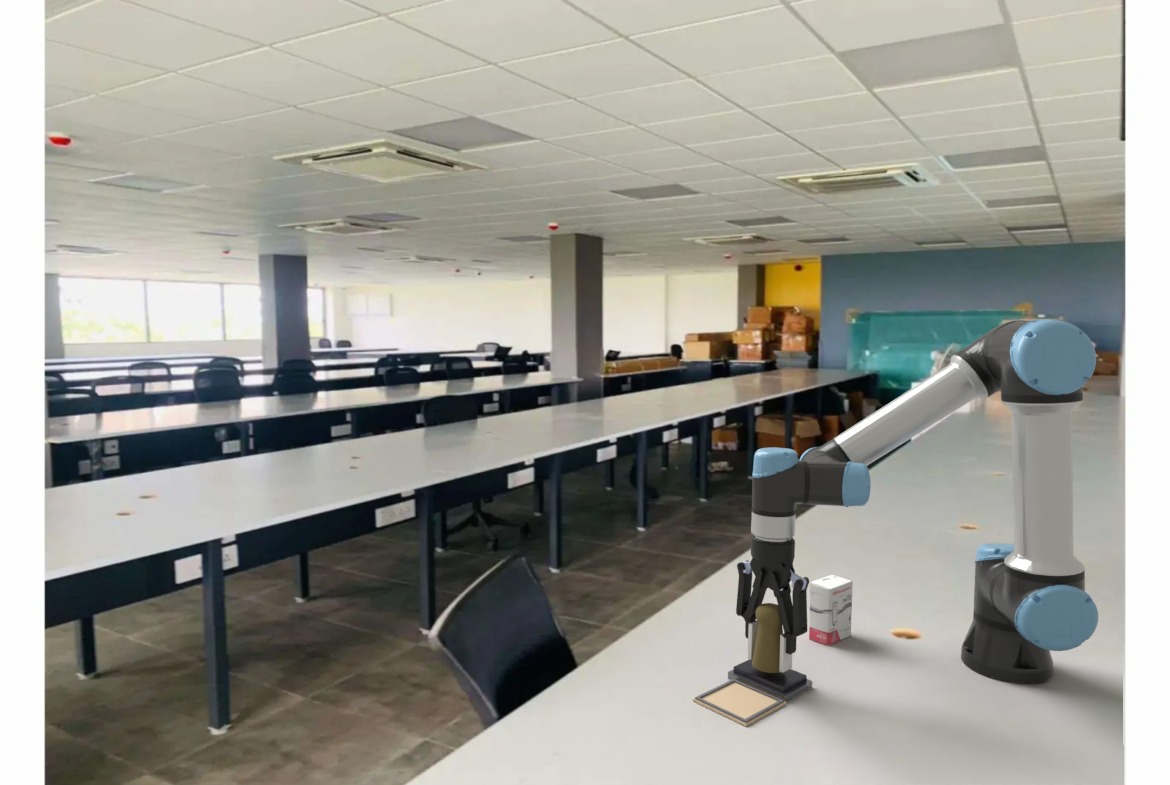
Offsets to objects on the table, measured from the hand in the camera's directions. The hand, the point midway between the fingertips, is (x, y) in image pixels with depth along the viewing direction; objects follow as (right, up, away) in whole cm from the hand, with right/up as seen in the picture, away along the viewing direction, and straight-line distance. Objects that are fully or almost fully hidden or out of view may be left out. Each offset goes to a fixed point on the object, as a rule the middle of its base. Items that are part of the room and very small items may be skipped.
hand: (769, 663), depth 136 cm
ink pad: (0, -4, 0) cm, 4 cm away
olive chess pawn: (0, -1, 0) cm, 1 cm away
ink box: (+17, -2, +21) cm, 27 cm away
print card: (-7, -4, -7) cm, 11 cm away
